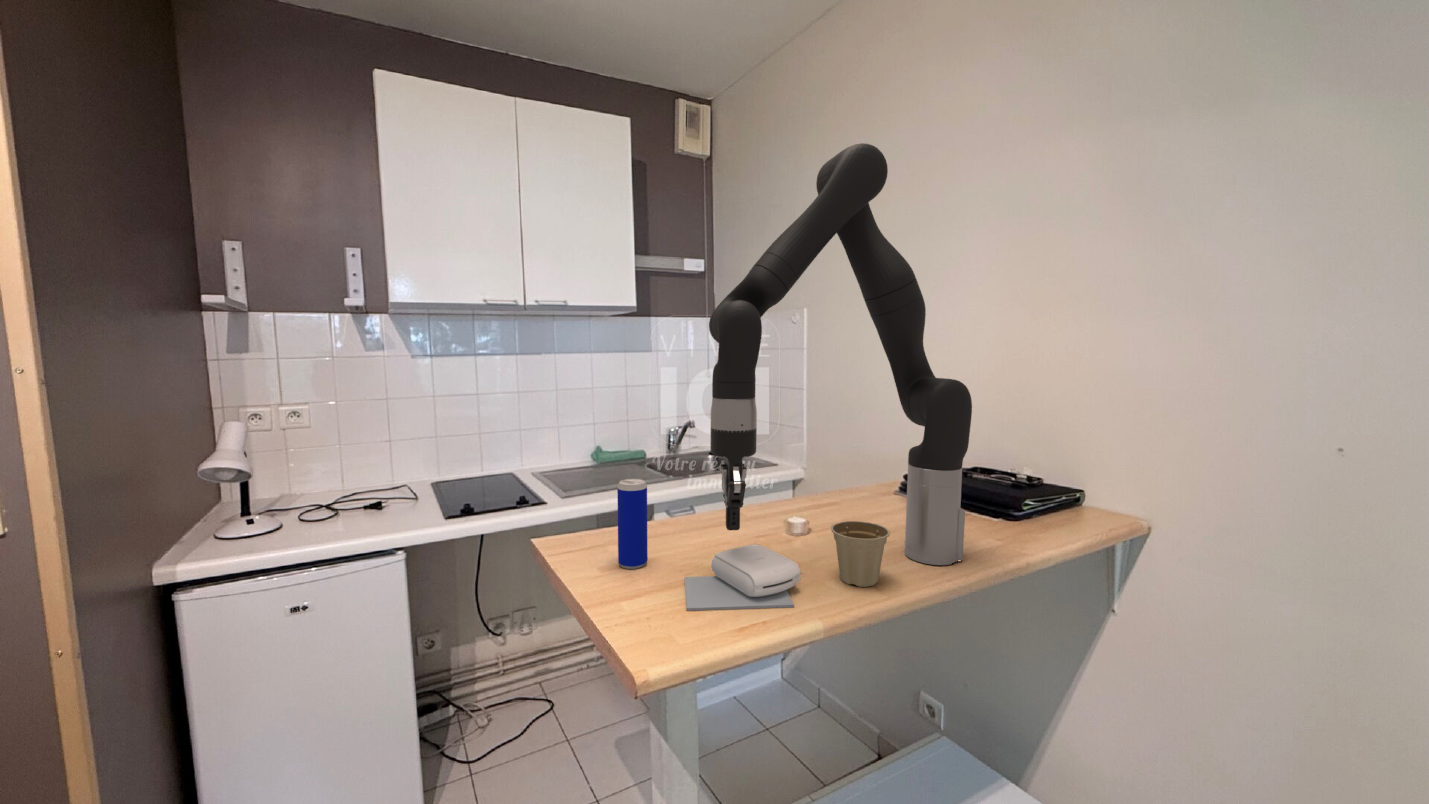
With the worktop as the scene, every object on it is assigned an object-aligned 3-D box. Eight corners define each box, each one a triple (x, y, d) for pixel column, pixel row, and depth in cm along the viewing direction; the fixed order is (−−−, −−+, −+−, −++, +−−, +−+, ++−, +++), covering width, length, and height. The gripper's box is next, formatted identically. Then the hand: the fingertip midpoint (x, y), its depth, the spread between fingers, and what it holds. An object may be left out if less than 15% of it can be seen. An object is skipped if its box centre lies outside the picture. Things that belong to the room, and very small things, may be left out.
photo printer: (759, 540, 95) (807, 563, 85) (759, 564, 96) (807, 589, 85) (710, 551, 90) (755, 577, 79) (710, 576, 90) (755, 606, 80)
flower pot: (817, 577, 91) (819, 527, 90) (853, 564, 97) (854, 517, 96) (863, 597, 84) (865, 543, 83) (899, 582, 89) (901, 531, 89)
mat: (779, 576, 91) (779, 574, 91) (794, 607, 80) (794, 604, 80) (684, 579, 90) (684, 576, 90) (686, 610, 79) (686, 608, 79)
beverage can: (653, 561, 97) (652, 480, 96) (637, 572, 93) (636, 486, 91) (629, 557, 100) (628, 477, 98) (612, 567, 95) (611, 483, 93)
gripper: (763, 431, 82) (761, 542, 83) (750, 420, 95) (749, 516, 97) (713, 431, 81) (713, 543, 83) (707, 420, 94) (707, 517, 96)
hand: (732, 528), depth 90 cm, fingers closed
